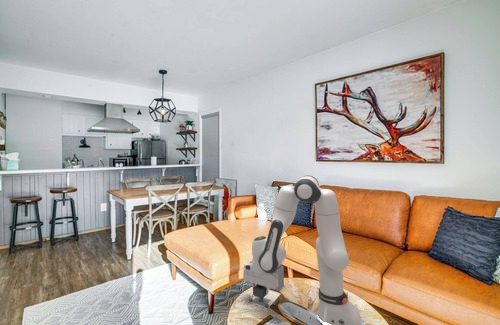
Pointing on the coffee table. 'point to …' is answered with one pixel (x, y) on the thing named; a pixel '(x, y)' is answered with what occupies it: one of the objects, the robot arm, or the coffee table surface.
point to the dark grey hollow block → (259, 291)
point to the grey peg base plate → (265, 299)
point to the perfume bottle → (280, 277)
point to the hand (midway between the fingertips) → (260, 291)
